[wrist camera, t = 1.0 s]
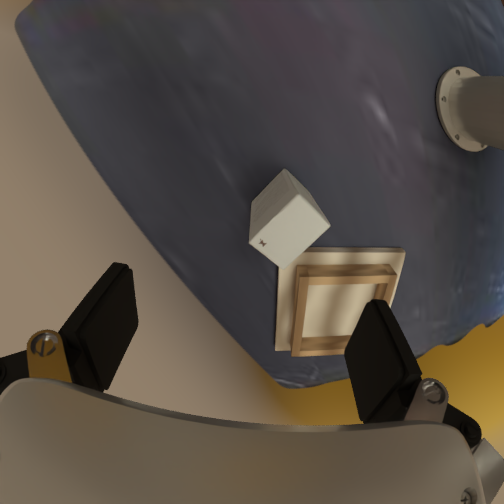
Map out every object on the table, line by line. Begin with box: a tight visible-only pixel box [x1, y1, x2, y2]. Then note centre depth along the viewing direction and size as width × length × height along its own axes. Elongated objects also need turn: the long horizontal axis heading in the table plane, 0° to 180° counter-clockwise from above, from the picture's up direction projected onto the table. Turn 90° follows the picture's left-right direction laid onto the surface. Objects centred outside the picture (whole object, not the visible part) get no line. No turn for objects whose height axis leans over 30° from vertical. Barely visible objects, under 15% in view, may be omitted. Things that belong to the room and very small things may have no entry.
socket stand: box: [275, 247, 406, 357], centre depth 39 cm, size 18×18×4 cm
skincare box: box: [249, 169, 331, 270], centre depth 28 cm, size 6×4×12 cm
